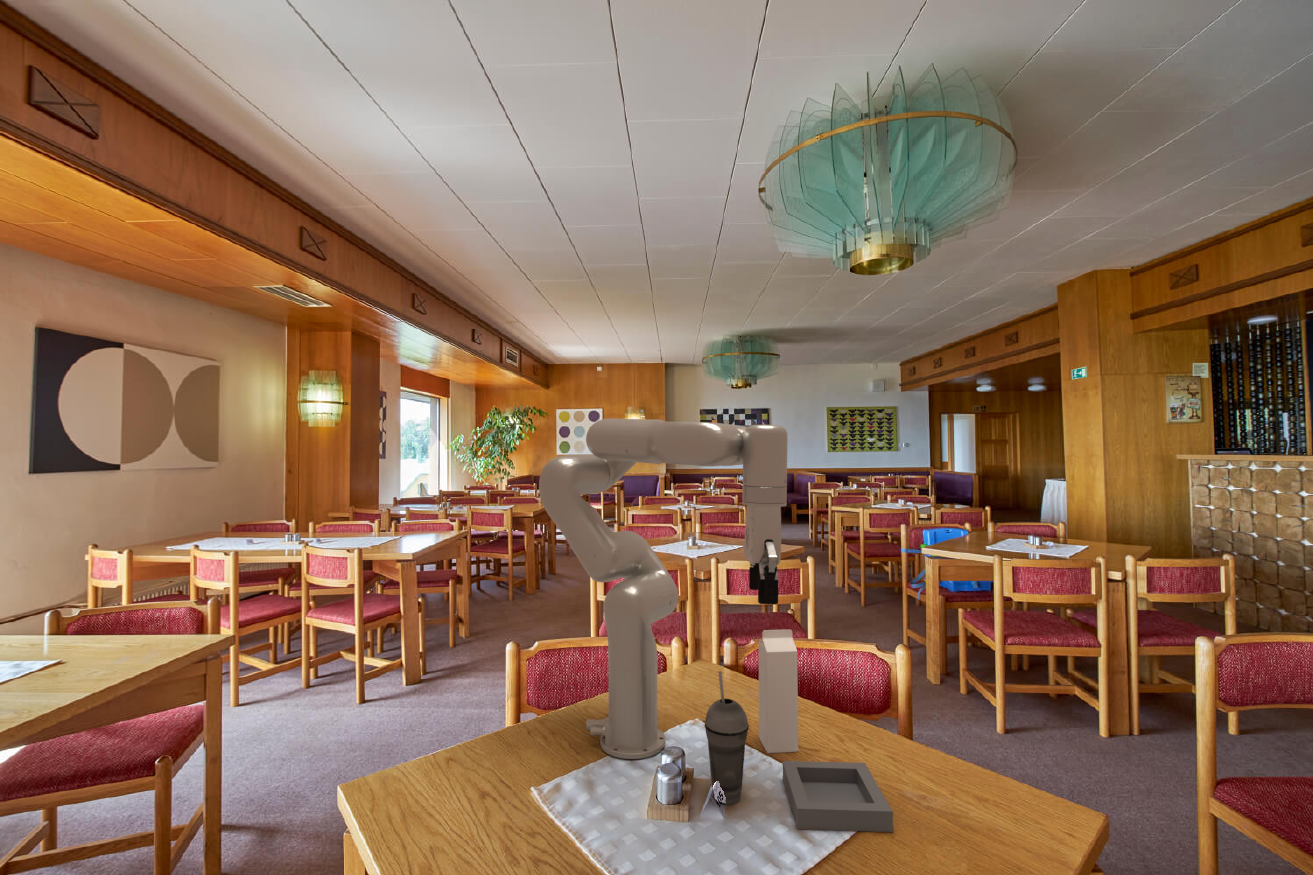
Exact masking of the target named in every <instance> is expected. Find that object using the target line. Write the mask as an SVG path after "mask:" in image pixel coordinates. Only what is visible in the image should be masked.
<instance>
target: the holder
mask: <svg viewBox="0 0 1313 875" xmlns="http://www.w3.org/2000/svg"><path fill="white" fill-rule="evenodd" d="M782 781H783V784H784V788H785V792H786V794H787V798H788V802H789V804H790V807H791V811H792V814H793V818H794V821H795V826H796V828H797V830H811V831H812V830H817V831H841V832H842V831H843V832H846V831H847V832H848V831H849V832H850V831H851V832H877V833H878V832H879V833H880V832H881V833H894V811H893V809H892V808H891V806H890V804H889V802H888V801H887V799H886V797H885V795H884V794H883V792H882V789H880V787H879V785H878V783H877V781H876V780H875V778H874V776H873V774H872V773H871V771H870V769H869V767H868V766H867V764H866V763H865V762H846V761H845V762H843V761H839V762H837V761H807V760H806V761H802V760H801V761H799V760H798V761H797V760H796V761H795V760H782Z"/></svg>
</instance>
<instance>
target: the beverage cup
mask: <svg viewBox="0 0 1313 875" xmlns="http://www.w3.org/2000/svg"><path fill="white" fill-rule="evenodd" d="M718 680H719V689H720V690H719V691H720V692H719V693H720V699H718V700H715V701H714V702H713V703H712V704H711V705H710V706H709V707H708V709H707V712H706V716H705V719H704V720H705V721H704V725H703V726H704V728H705V735H706V739H707V746H708V759H709V767H710V769H709V770H710V780H711V788H712V787H713V785H714V783H715V782H716V781H719V783H720V787H721V788H722V790H723V791H724V795H725V797H726V804H725V805H734V804H737V803H739V802H740V801H741V798H742V797H741V796H742V789H743V778H744V764H745V752H746V751H745V750H746V741H747V739H748V731H749V727H750V726H749V723H748V716H747V713H746V712H745V710H744V708H743V707H742V705H741V704H740V703H739V702H738V701H736V700H734V699H731V698H727V697H726V698H725V694H724V693H725V692H724V683H723V673H722V671H718Z"/></svg>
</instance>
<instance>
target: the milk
mask: <svg viewBox="0 0 1313 875" xmlns="http://www.w3.org/2000/svg"><path fill="white" fill-rule="evenodd" d="M761 633H762V634H761V636H762V638H761V639H760V640H759V641H758V736H759V737H758V738H759V741H760V743H761V744H762V746H763V748H764V749H765V751H766V753H767V754H775V753H779V754H780V753H781V754H782V753H797V752H799V728H798V727H799V722H798V721H799V710H798V708H799V706H798V704H799V702H798V701H799V700H798V699H799V698H798V695H799V694H798V693H799V692H798V689H799V688H798V682H799V681H798V650H797V646H796V644H795V641H794V638H793V630H792V629H768V630H767V629H763V631H762V632H761Z"/></svg>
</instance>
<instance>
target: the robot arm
mask: <svg viewBox="0 0 1313 875" xmlns="http://www.w3.org/2000/svg"><path fill="white" fill-rule="evenodd" d="M788 439H789V438H788V431H787V430H786V427H784V426H782V425H777V424H753V425H748V426H745V425H738V424H729V423H720V422H709V421H708V422H706V421H705V422H704V421H702V422H701V421H700V422H699V421H696V422H695V421H666V420H663V419H651V418H649V419H648V418H647V419H645V418H641V419H640V418H603V419H599V420H598V421H596V422H595V421H594V423H593V424H592V425H590V427H589V429H588V430H587V433H586V437H585V442H586V446H587V448H588V450H589V452H590V453H591V454H565V455H564V454H563V455H560V456H556V457H554V458H552V459H550V460H549V461H547V462H546V464H544V466H543V468H542V469H541V471H540V476H539V480H538V482H539V483H538V489H539V490H538V491H539V498H540V501H541V503H542V507H543V508H544V510H545V511H546V513H547V515H548V516H549V518H550V519H551V520H552V521H553V523H554V524H555V525H556V527H557V528H558V529H559V531H560V533H561V534H562V535H563V537H564V538H565V540H566V541H567V544H568V545H569V547H570V548H571V550H572V551H573V553H574V554H575V556H576V558H577V559H578V561H579V563H580V565H581V566H582V567H583V569H584V571H585V572H586V573H587V575H588V576H589V578H590V579H592V580H593V581H595V582H597V583H608V582H609V583H610V582H613V581H616V580H619V579H624V580H621V581H619V582H618V583H616V584H615V585H613V586H612V587H611V588H610V589H609V591H608V592H607V593H606V595H605V597H604V601H603V615H604V616H603V617H604V621H605V627H606V633H607V647H608V648H607V649H608V650H607V652H608V653H607V654H608V655H607V657H608V658H607V660H608V661H607V663H608V715H607V717H606V718H605V717H603V718H602V719H595V718H593V719H592V718H591V719H589V718H588V719H586V723H585V730H586V731H589V734H590V735H591V736H592V735H593V736H597V735H598V736H599V735H601V736H600V748H601V749H602V751H603V752H605V753H606V754H608V755H609V756H612V757H615V758H619V759H625V760H639V759H645V758H649V757H653V756H655V755H656V754H658V753H660V752H661V751H662V750H663V749H664V748H665V746H666V736H665V734H664V732H663V730H661V729H660V728H659V727H658V647H657V642H656V639H655V636H654V633H653V632H654V631H653V630H652V624H654V623H655V622H657V621H660V620H662V619H664V618H665V617H666V618H667V617H668V616H670V614H672V613H673V612H674V611H675V610H676V608H677V605H678V602H679V591H678V587H677V585H676V583H675V581H674V579H673V577H672V576H671V574H670V573H669V572H668V570H667V569H666V567H665V566H664V564H663V562H662V561H661V559H659V557H658V555H657V554H656V552H655V551H654V549H653V548H652V547H651V545H650V544H649V542H648V541H647V540H646V539H645V538H644V537H643V536H642V535H640V534H638V533H637V532H635V531H631V530H620V531H613V530H611V529H610V527H609V526H608V525H607V524H606V522H605V521H604V520H603V517H602V516H601V515H600V513H599V512H598V511H597V509H596V508H595V507H594V506H593V505H591V504H590V503H589V502H588V501H586V500H585V498H583V497H582V496H581V495H592V494H600V493H604V492H605V491H607V490H609V489H610V488H612V487H613V486H614V485H615V484H617V482H618V481H620V479H621V478H622V477H624V476H625V475H626V474H627V472H628V471H629V470H631V469H632V468H633V467H634V466H635V465H636V464H637V463H642V464H643V463H644V464H652V465H653V464H654V465H661V464H669V465H670V464H671V465H683V466H687V465H688V466H695V467H696V466H698V467H720V466H721V467H732V466H741V465H742V497H741V498H742V505H743V506H746V513H745V530H744V546H743V547H744V548H743V555H744V558H745V559H746V560H747V561H748V563H749V567H748V568H749V569H748V570H749V574H748V576H749V577H748V578H749V579H748V588H749V590H750V591H757V596H758V597H757V602H758V604H760V605H778V603H779V571H778V566H779V565H780V563H781V559H782V509H781V508H782V507H787V504H788V503H787V496H788V494H787V493H788V492H787V490H788V487H787V486H788ZM663 747H664V748H663ZM662 748H663V749H662ZM661 749H662V750H661Z"/></svg>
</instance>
